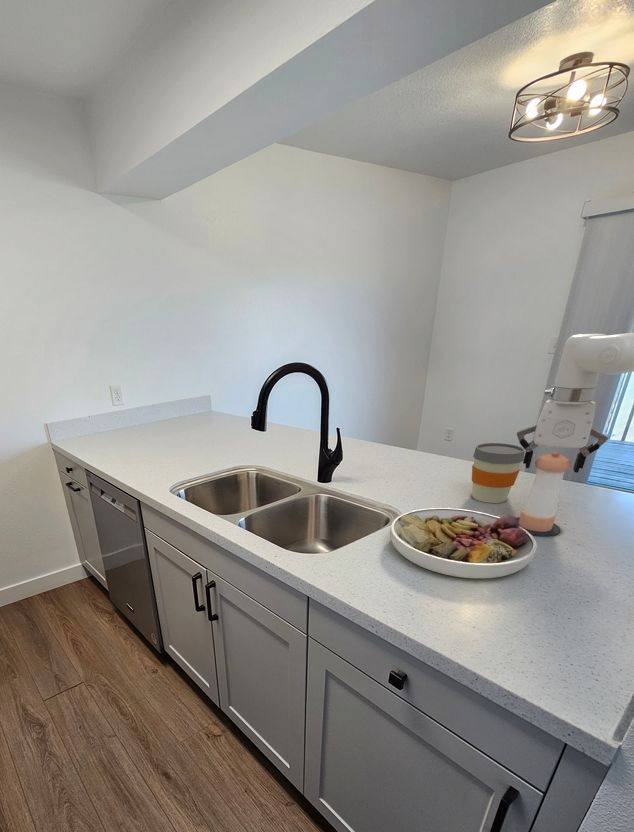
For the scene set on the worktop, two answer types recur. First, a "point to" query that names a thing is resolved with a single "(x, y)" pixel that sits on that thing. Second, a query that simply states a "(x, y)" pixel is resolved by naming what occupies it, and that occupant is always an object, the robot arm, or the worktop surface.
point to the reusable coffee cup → (495, 471)
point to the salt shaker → (544, 493)
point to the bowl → (463, 542)
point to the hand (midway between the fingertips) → (550, 468)
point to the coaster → (552, 532)
